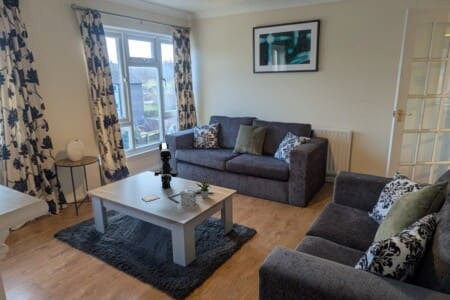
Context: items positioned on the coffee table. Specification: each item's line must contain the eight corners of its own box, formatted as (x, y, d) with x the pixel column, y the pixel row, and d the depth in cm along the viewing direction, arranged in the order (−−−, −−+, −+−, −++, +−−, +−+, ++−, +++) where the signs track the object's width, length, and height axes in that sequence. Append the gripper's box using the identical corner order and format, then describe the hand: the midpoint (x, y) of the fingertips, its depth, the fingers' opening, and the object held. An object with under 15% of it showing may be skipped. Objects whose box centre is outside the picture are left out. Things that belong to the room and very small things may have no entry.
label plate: (155, 194, 250) (154, 194, 249) (159, 198, 243) (159, 197, 243) (141, 198, 242) (141, 197, 242) (146, 202, 236) (146, 201, 235)
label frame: (181, 193, 252) (181, 193, 252) (190, 198, 241) (190, 198, 241) (167, 197, 244) (167, 197, 244) (176, 203, 233) (176, 202, 233)
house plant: (207, 191, 255) (206, 173, 251) (217, 196, 245) (217, 177, 241) (193, 196, 246) (193, 177, 242) (203, 201, 236) (203, 182, 232)
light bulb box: (196, 202, 234) (196, 189, 231) (193, 206, 228) (193, 193, 225) (184, 201, 237) (183, 188, 234) (180, 204, 230) (180, 191, 228)
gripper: (180, 163, 241) (181, 181, 245) (159, 162, 245) (160, 179, 249) (175, 167, 231) (176, 185, 235) (153, 166, 234) (154, 184, 238)
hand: (167, 183), depth 239 cm, fingers closed
